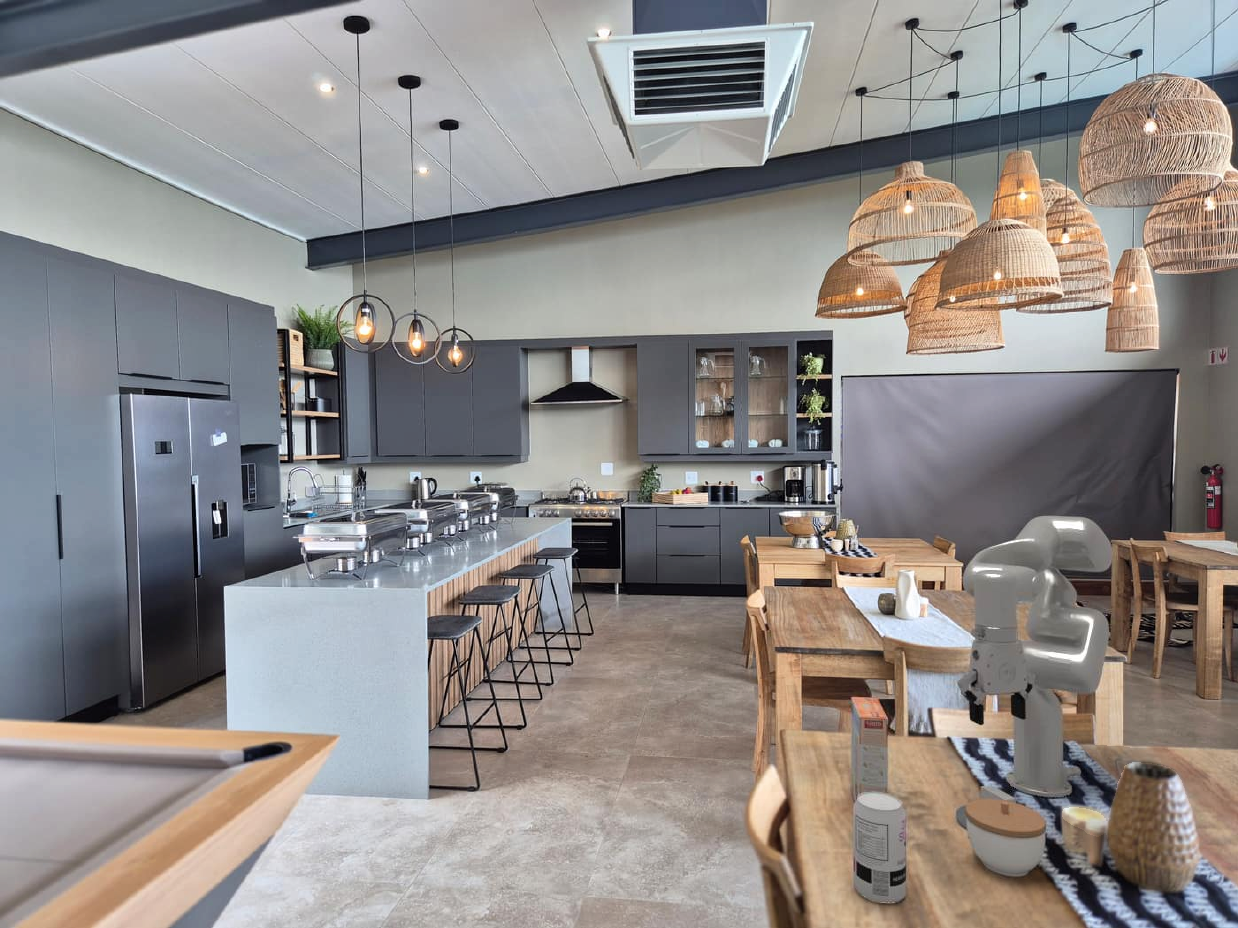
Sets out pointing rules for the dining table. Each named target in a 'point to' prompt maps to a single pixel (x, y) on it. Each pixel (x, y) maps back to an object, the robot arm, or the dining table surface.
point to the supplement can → (879, 847)
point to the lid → (986, 793)
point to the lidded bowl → (1006, 835)
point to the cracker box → (868, 747)
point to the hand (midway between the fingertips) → (997, 719)
